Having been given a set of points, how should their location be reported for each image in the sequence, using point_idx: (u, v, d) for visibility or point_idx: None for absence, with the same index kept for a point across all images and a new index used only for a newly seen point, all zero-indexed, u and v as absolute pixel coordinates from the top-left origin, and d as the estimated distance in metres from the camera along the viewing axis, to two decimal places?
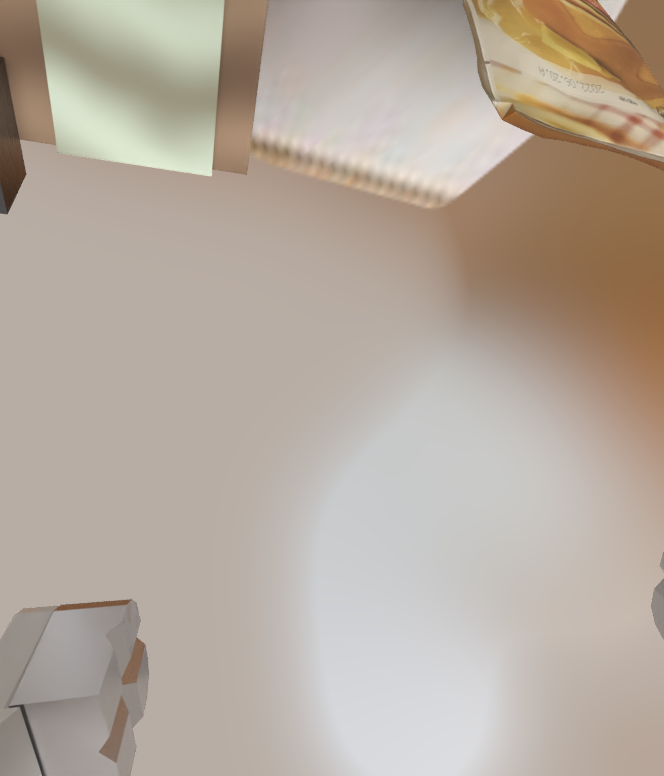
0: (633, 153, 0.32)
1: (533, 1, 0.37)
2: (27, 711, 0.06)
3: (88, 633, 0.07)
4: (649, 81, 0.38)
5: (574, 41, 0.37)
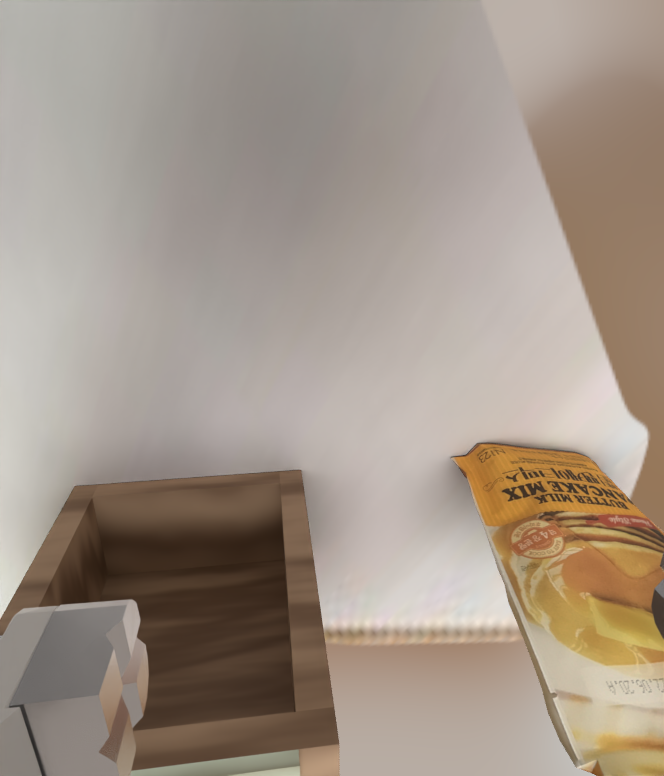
0: None
1: (571, 569, 0.39)
2: (27, 711, 0.06)
3: (88, 633, 0.07)
4: None
5: (624, 596, 0.38)
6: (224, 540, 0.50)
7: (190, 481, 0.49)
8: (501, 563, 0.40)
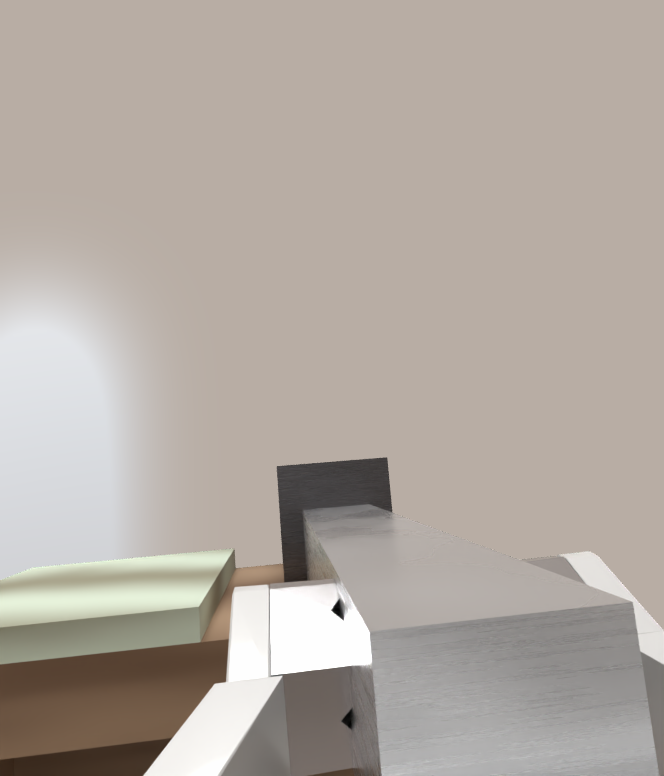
0: None
1: None
2: (286, 680, 0.06)
3: (313, 609, 0.07)
4: None
5: None
6: None
7: None
8: None
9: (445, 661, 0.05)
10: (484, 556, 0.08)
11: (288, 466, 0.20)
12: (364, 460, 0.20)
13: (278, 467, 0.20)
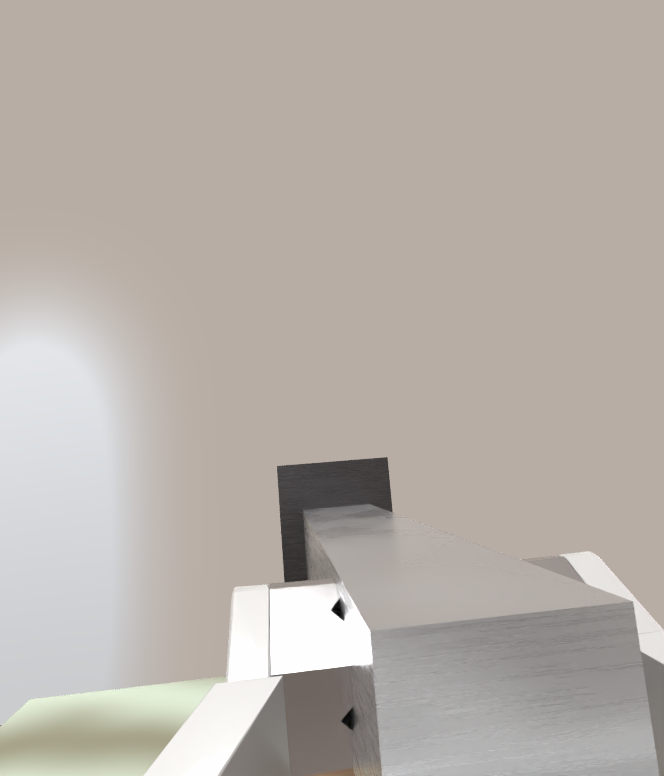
0: None
1: None
2: (286, 680, 0.06)
3: (313, 609, 0.07)
4: None
5: None
6: None
7: None
8: None
9: (444, 659, 0.05)
10: (484, 556, 0.08)
11: (288, 466, 0.20)
12: (364, 460, 0.20)
13: (278, 467, 0.20)
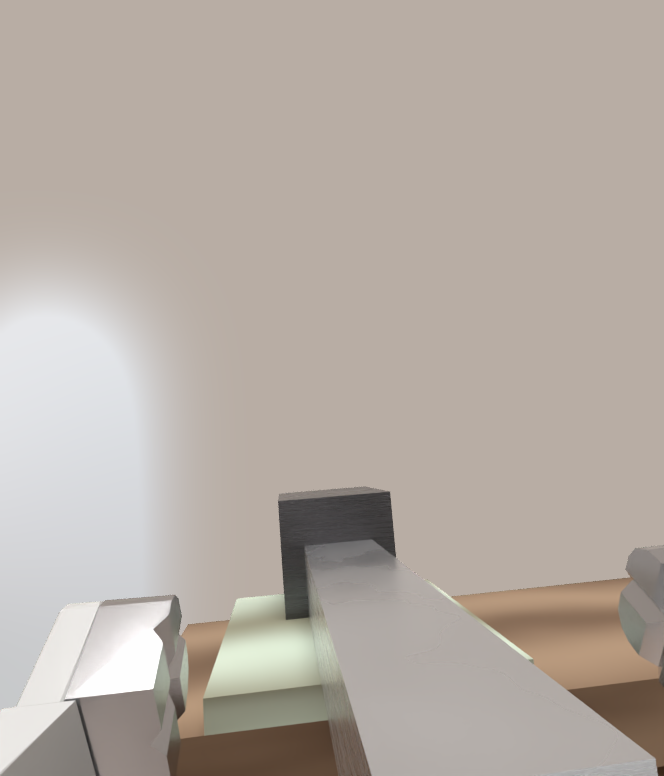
0: None
1: None
2: (82, 704, 0.06)
3: (135, 628, 0.07)
4: None
5: None
6: None
7: None
8: None
9: None
10: (494, 652, 0.07)
11: (290, 501, 0.19)
12: (366, 494, 0.20)
13: (279, 502, 0.19)
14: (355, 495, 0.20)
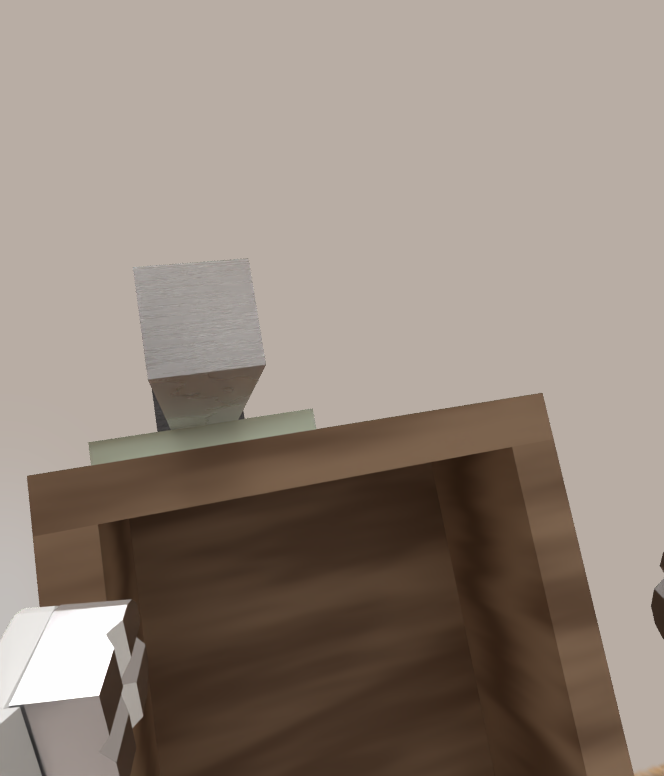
0: None
1: None
2: (27, 711, 0.06)
3: (88, 633, 0.07)
4: None
5: None
6: None
7: None
8: None
9: (166, 278, 0.12)
10: None
11: None
12: None
13: None
14: None
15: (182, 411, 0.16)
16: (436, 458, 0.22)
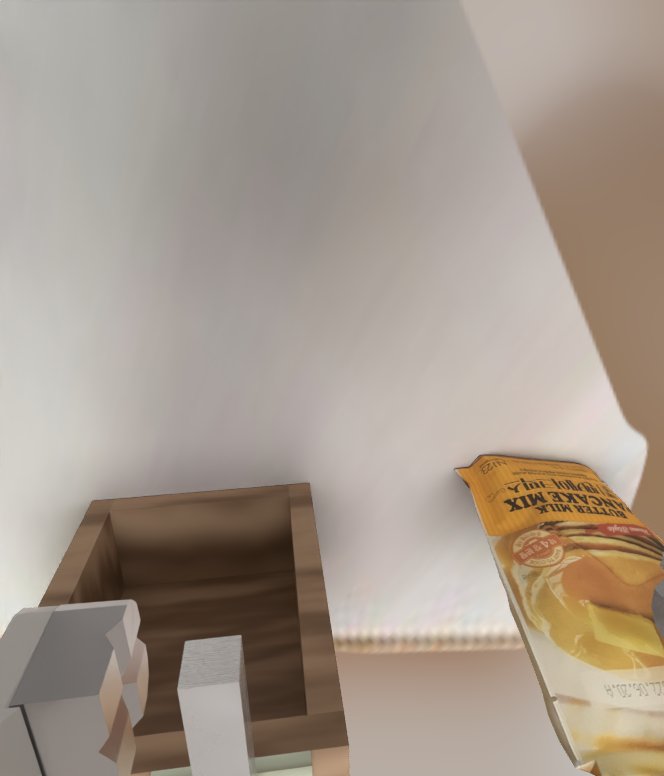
0: None
1: (571, 577, 0.40)
2: (27, 711, 0.06)
3: (88, 633, 0.07)
4: None
5: (623, 603, 0.40)
6: (236, 551, 0.52)
7: (203, 494, 0.51)
8: (503, 572, 0.41)
9: (223, 677, 0.22)
10: (193, 738, 0.23)
11: None
12: None
13: None
14: None
15: None
16: None
